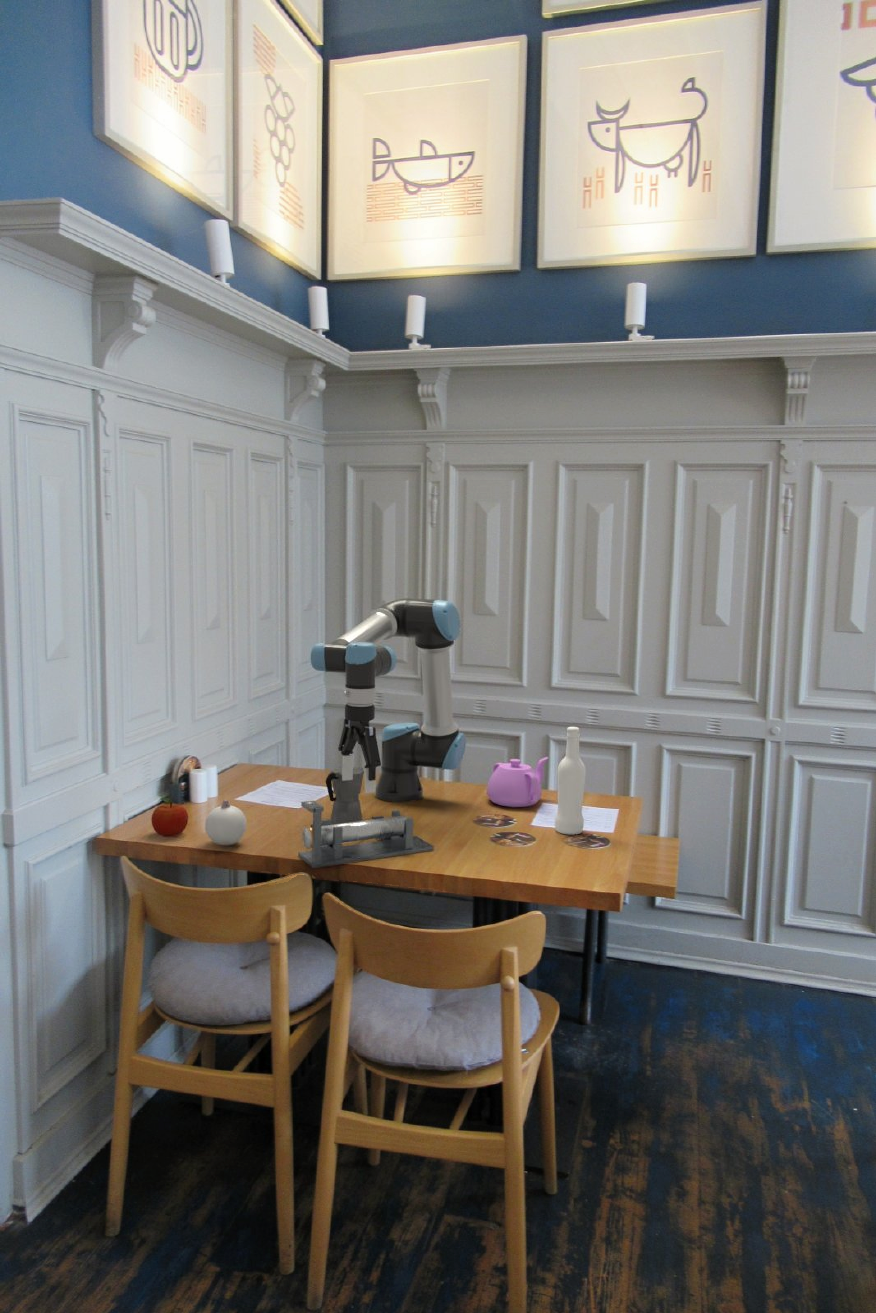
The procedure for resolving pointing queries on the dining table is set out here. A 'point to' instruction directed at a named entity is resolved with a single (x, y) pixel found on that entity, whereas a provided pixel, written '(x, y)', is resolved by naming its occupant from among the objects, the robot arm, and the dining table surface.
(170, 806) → the fruit
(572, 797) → the bottle
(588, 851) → the dining table surface
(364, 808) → the dining table surface
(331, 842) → the tube
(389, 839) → the rest chocks
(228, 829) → the ornament
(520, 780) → the teapot
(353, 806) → the coffeepot
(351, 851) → the grey tube stand
